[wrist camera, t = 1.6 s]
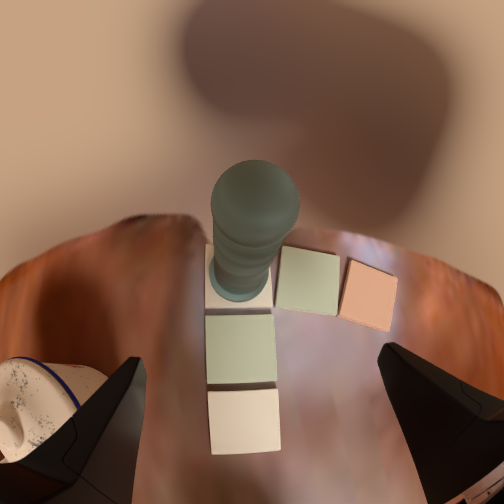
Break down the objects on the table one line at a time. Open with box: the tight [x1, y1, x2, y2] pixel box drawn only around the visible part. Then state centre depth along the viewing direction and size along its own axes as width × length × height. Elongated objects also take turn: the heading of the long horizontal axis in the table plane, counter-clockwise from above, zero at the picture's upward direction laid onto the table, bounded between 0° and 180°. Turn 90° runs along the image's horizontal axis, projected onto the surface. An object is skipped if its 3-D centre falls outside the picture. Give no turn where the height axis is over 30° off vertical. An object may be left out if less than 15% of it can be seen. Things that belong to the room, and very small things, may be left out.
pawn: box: [209, 160, 300, 302], centre depth 17 cm, size 5×5×13 cm
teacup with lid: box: [0, 357, 108, 463], centre depth 12 cm, size 12×9×12 cm
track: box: [205, 244, 398, 454], centre depth 22 cm, size 23×17×1 cm
